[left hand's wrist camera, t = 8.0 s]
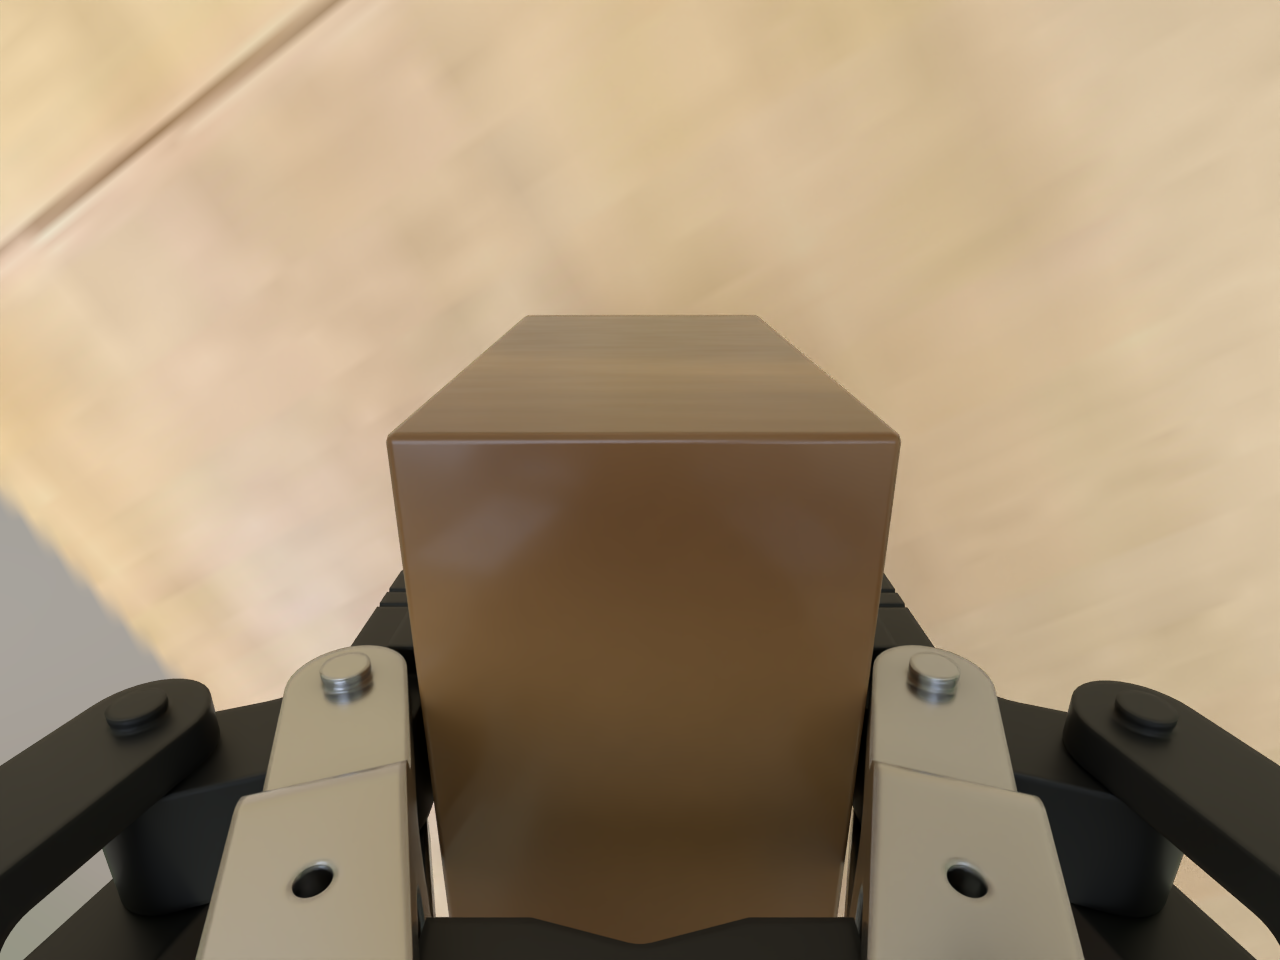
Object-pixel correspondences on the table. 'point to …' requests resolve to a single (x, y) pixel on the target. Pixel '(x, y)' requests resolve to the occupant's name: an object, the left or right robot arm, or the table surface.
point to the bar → (643, 620)
